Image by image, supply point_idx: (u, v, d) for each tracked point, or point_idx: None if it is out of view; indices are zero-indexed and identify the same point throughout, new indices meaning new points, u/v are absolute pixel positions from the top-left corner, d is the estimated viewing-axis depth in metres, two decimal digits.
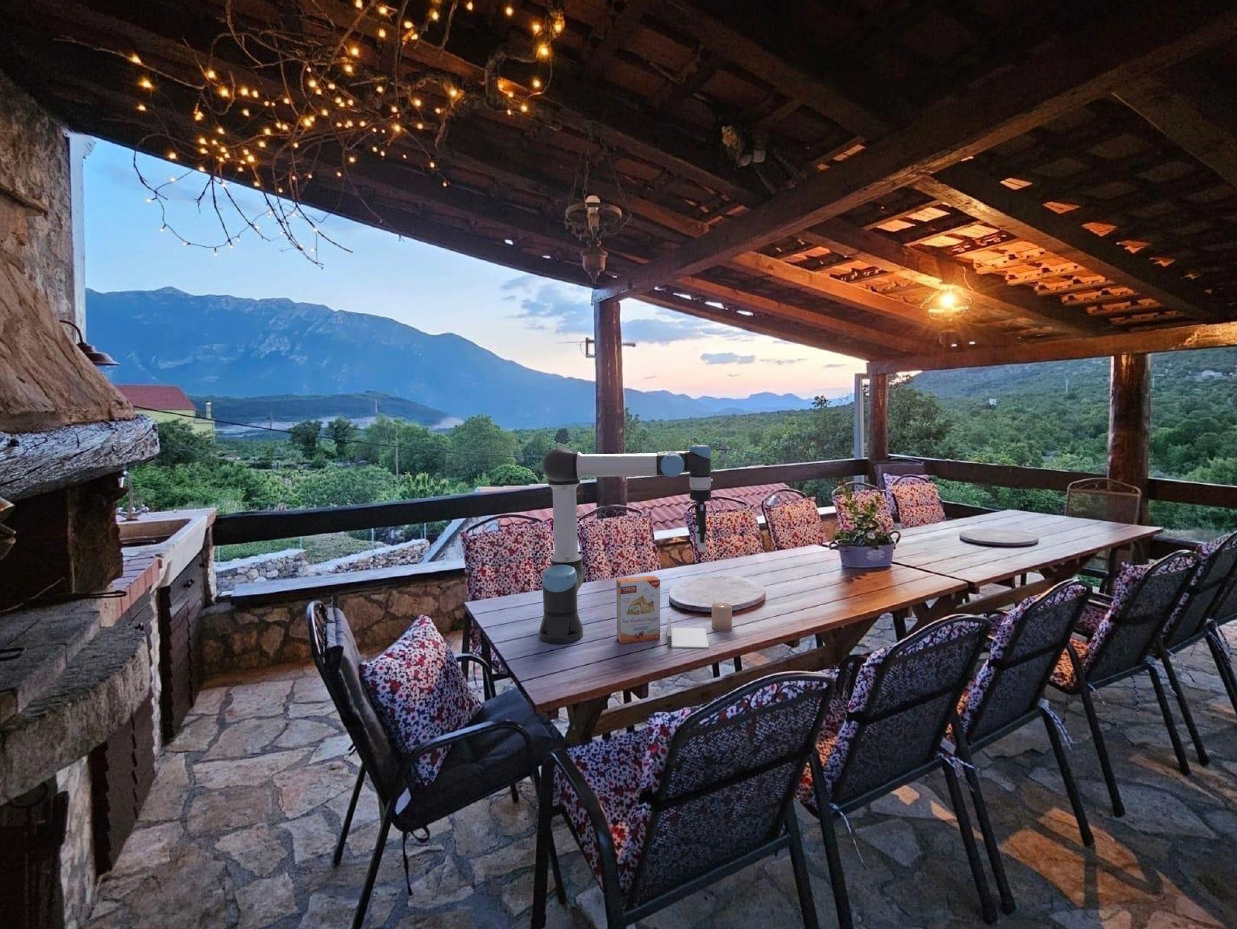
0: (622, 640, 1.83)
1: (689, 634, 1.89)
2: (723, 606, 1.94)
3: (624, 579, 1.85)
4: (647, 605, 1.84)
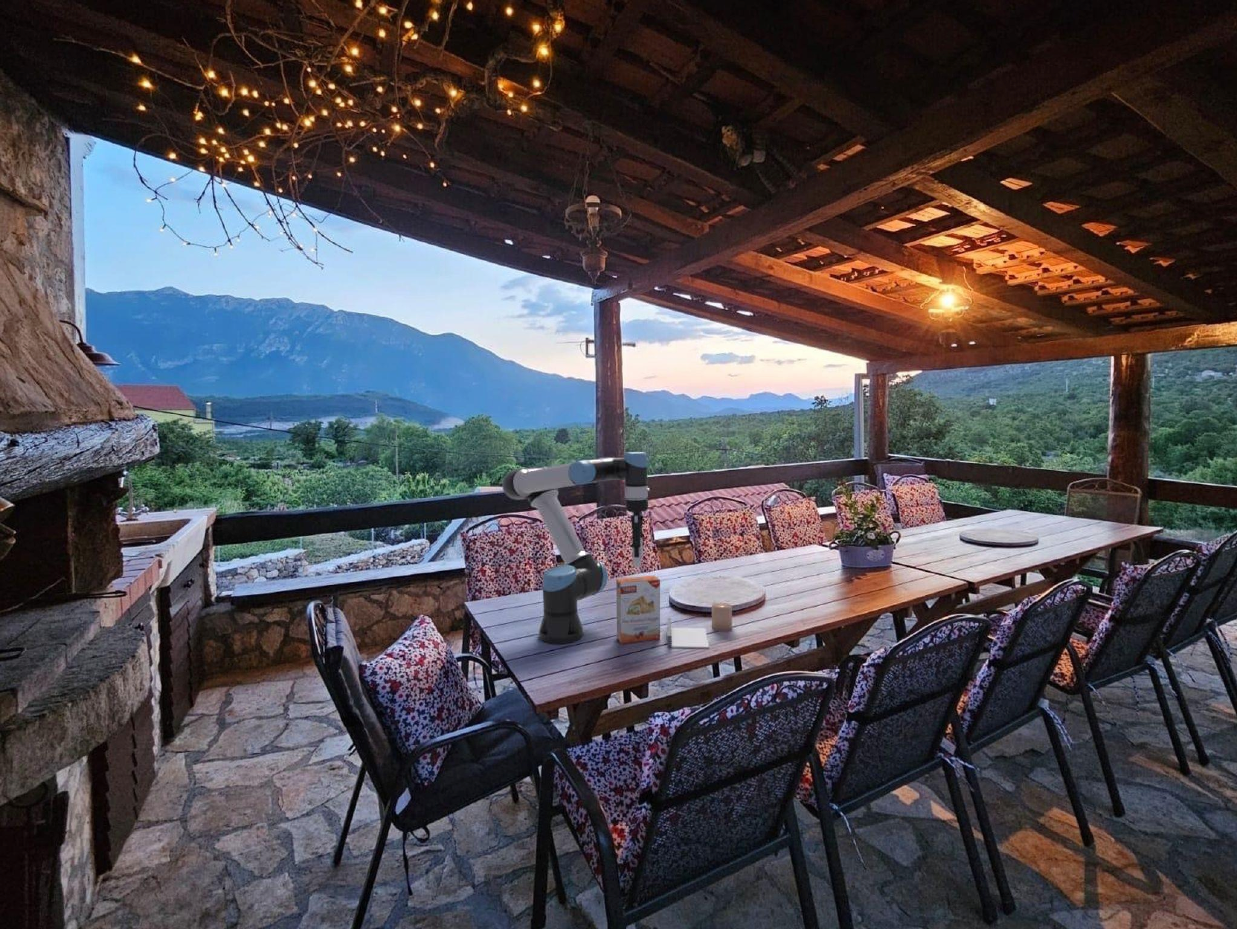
0: (622, 640, 1.83)
1: (689, 634, 1.89)
2: (723, 606, 1.94)
3: (624, 579, 1.85)
4: (647, 605, 1.84)
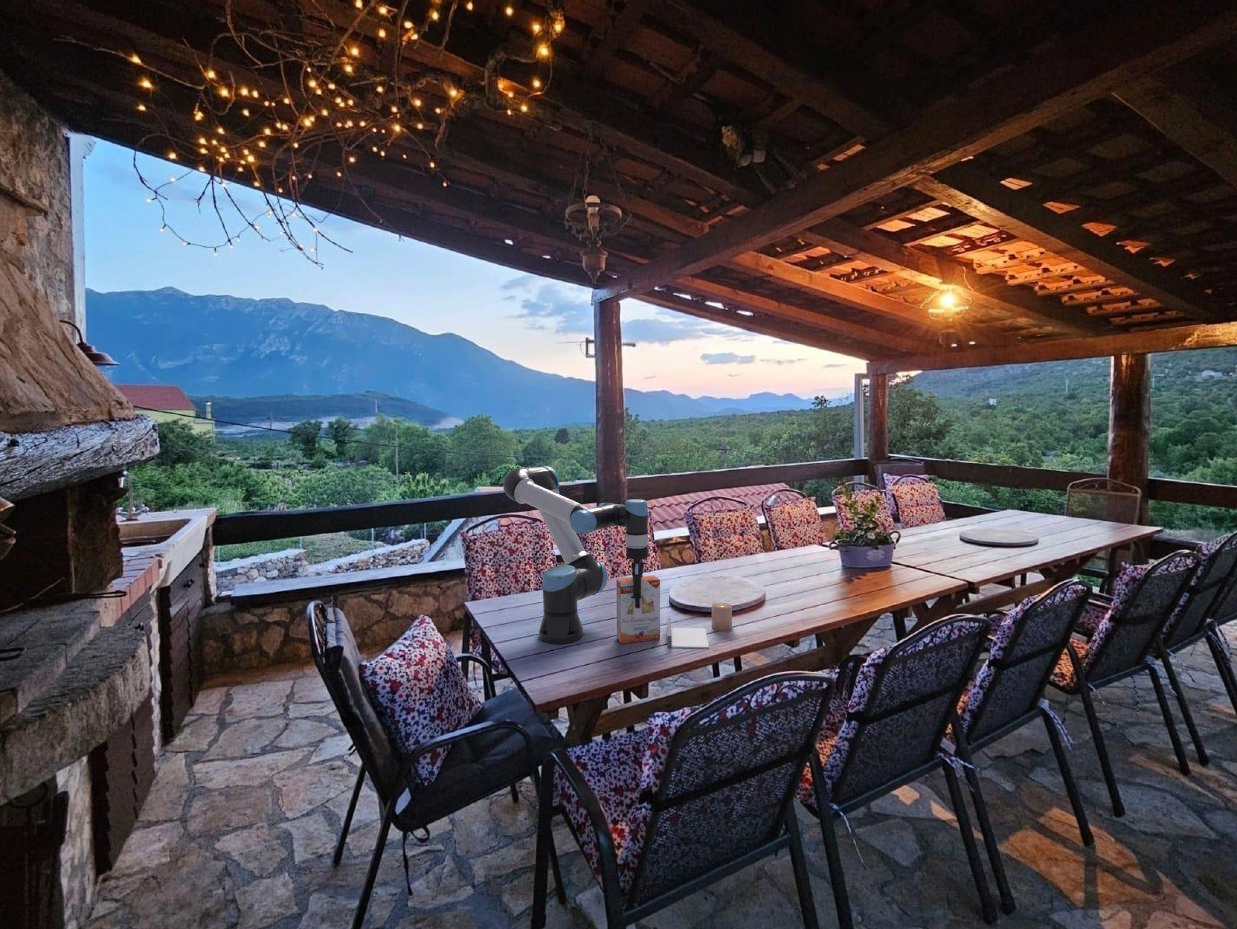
0: (622, 640, 1.83)
1: (689, 634, 1.89)
2: (723, 606, 1.94)
3: (624, 579, 1.85)
4: (647, 605, 1.84)
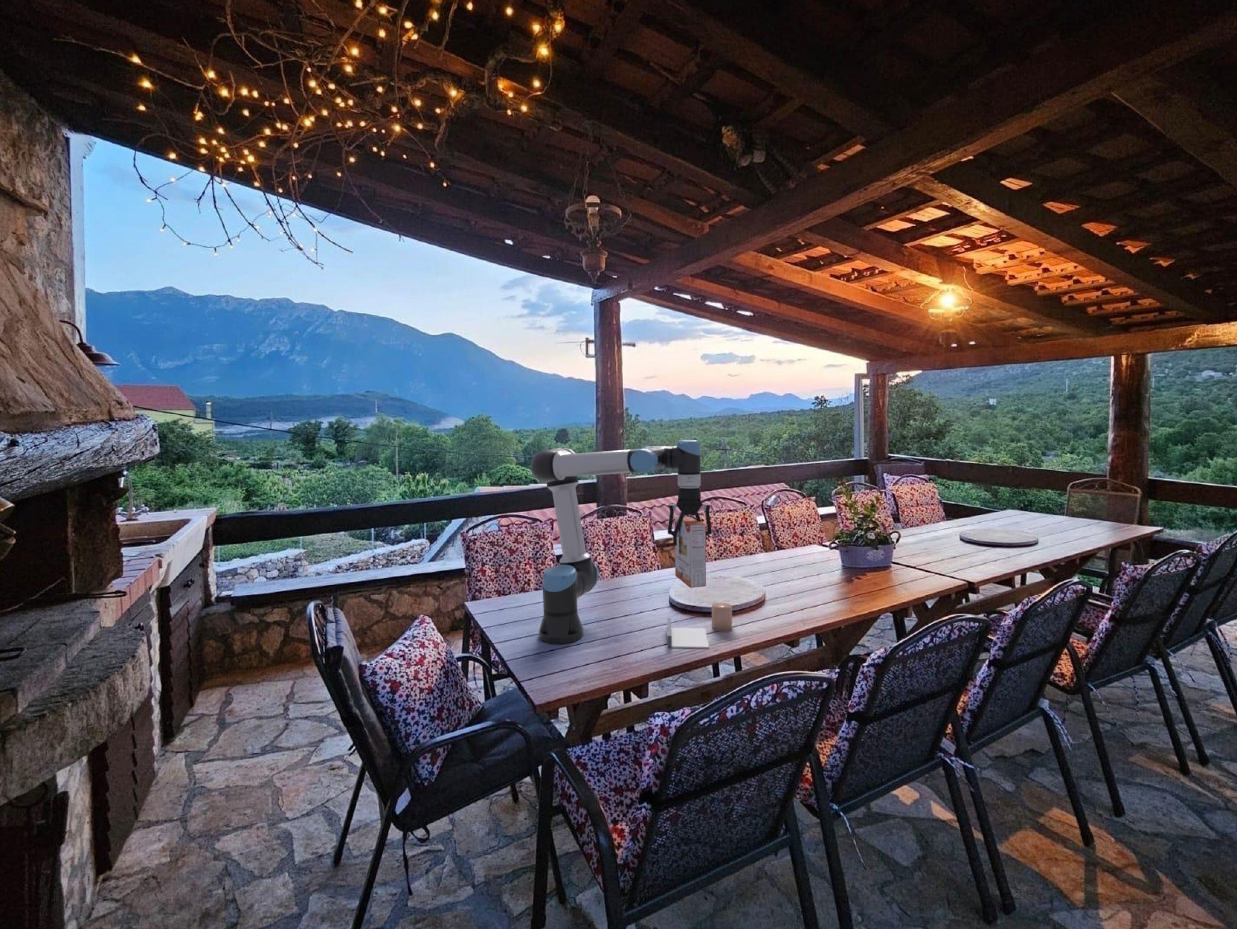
0: (675, 573, 1.90)
1: (689, 634, 1.89)
2: (723, 606, 1.94)
3: (686, 517, 1.88)
4: (683, 547, 1.81)
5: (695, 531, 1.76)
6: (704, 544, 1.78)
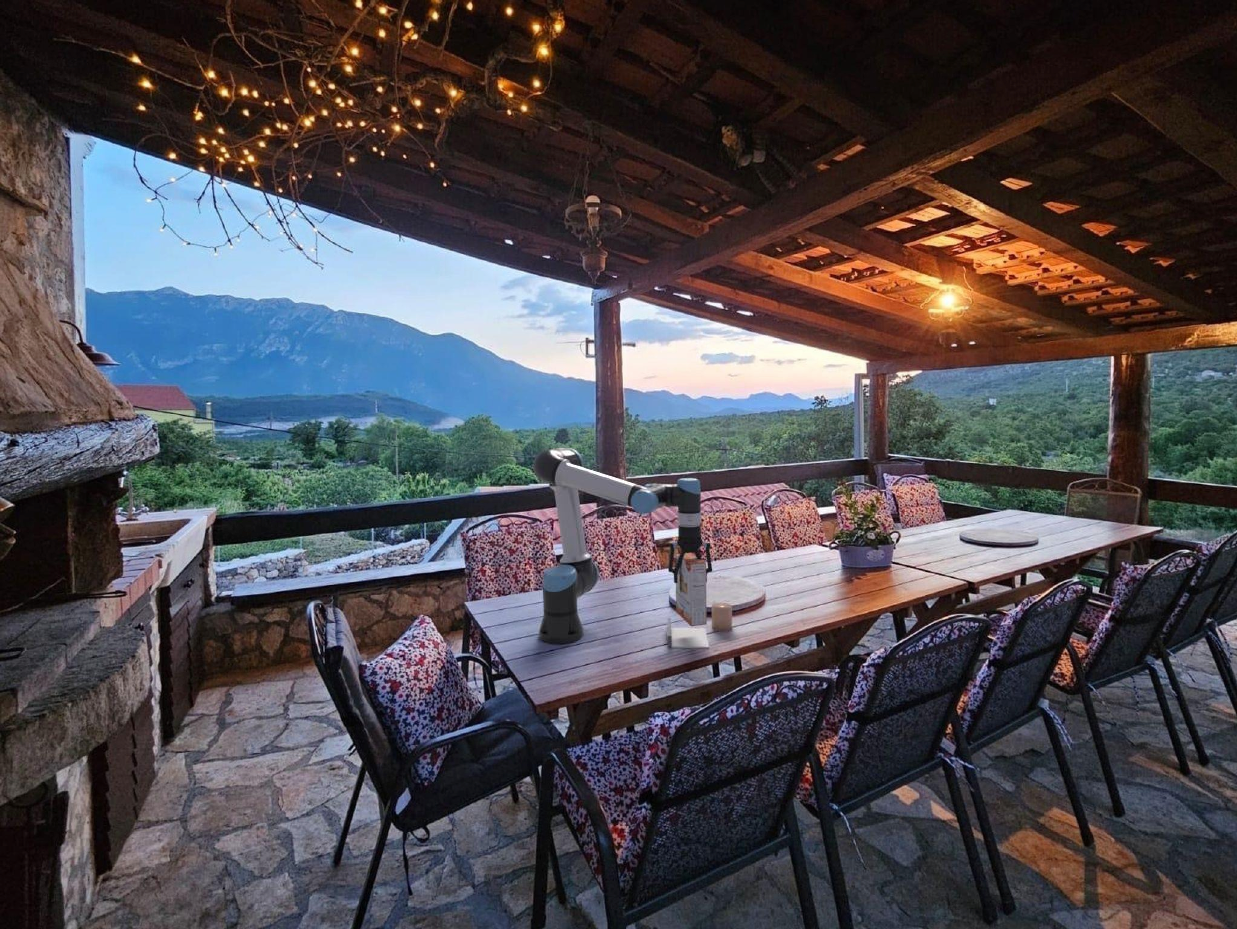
0: (676, 609, 1.91)
1: (689, 634, 1.89)
2: (723, 606, 1.94)
3: (687, 554, 1.89)
4: (684, 585, 1.82)
5: (696, 570, 1.77)
6: (705, 583, 1.79)
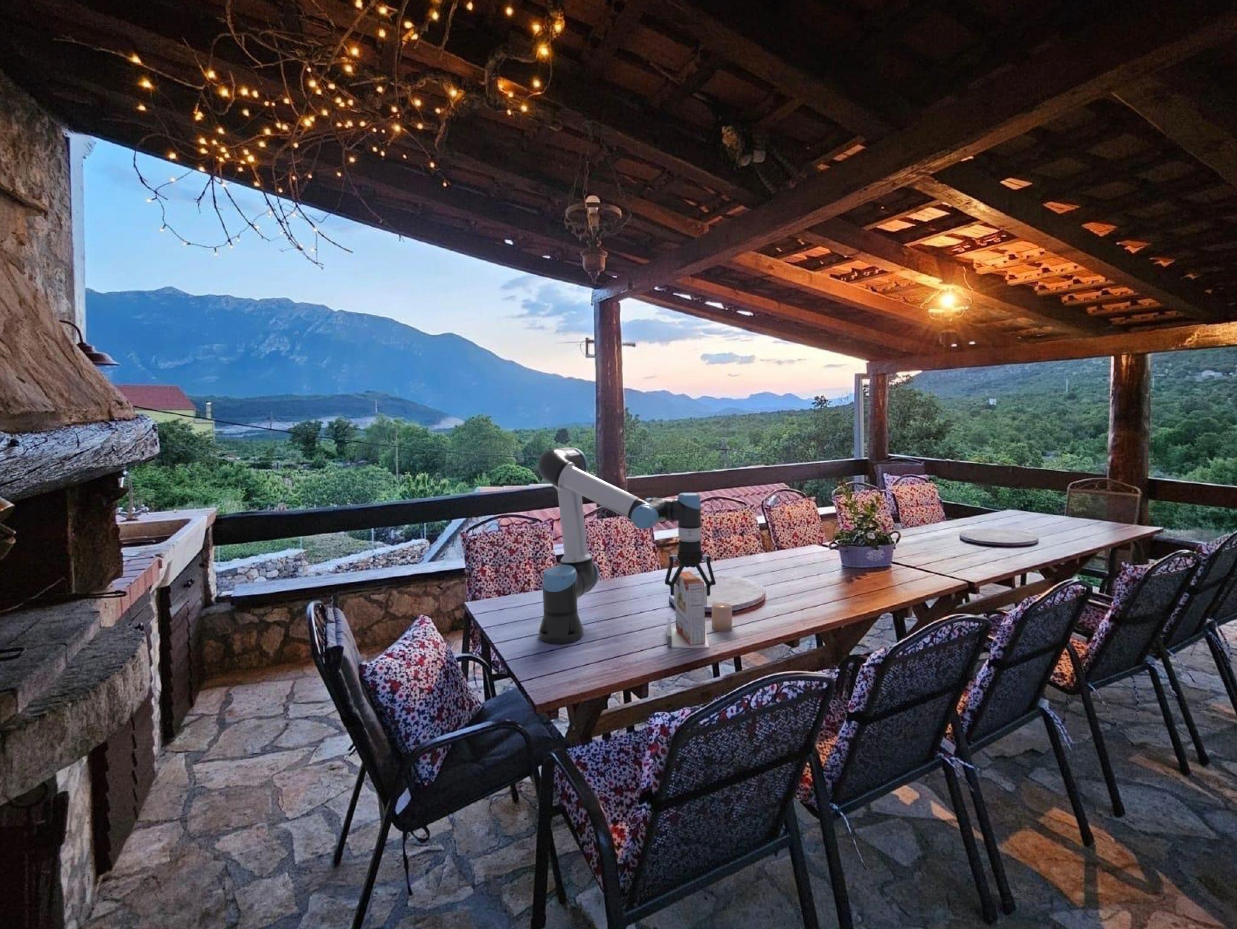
0: (676, 627, 1.92)
1: None
2: (723, 606, 1.94)
3: (686, 572, 1.89)
4: (683, 604, 1.82)
5: (694, 590, 1.78)
6: (703, 602, 1.79)
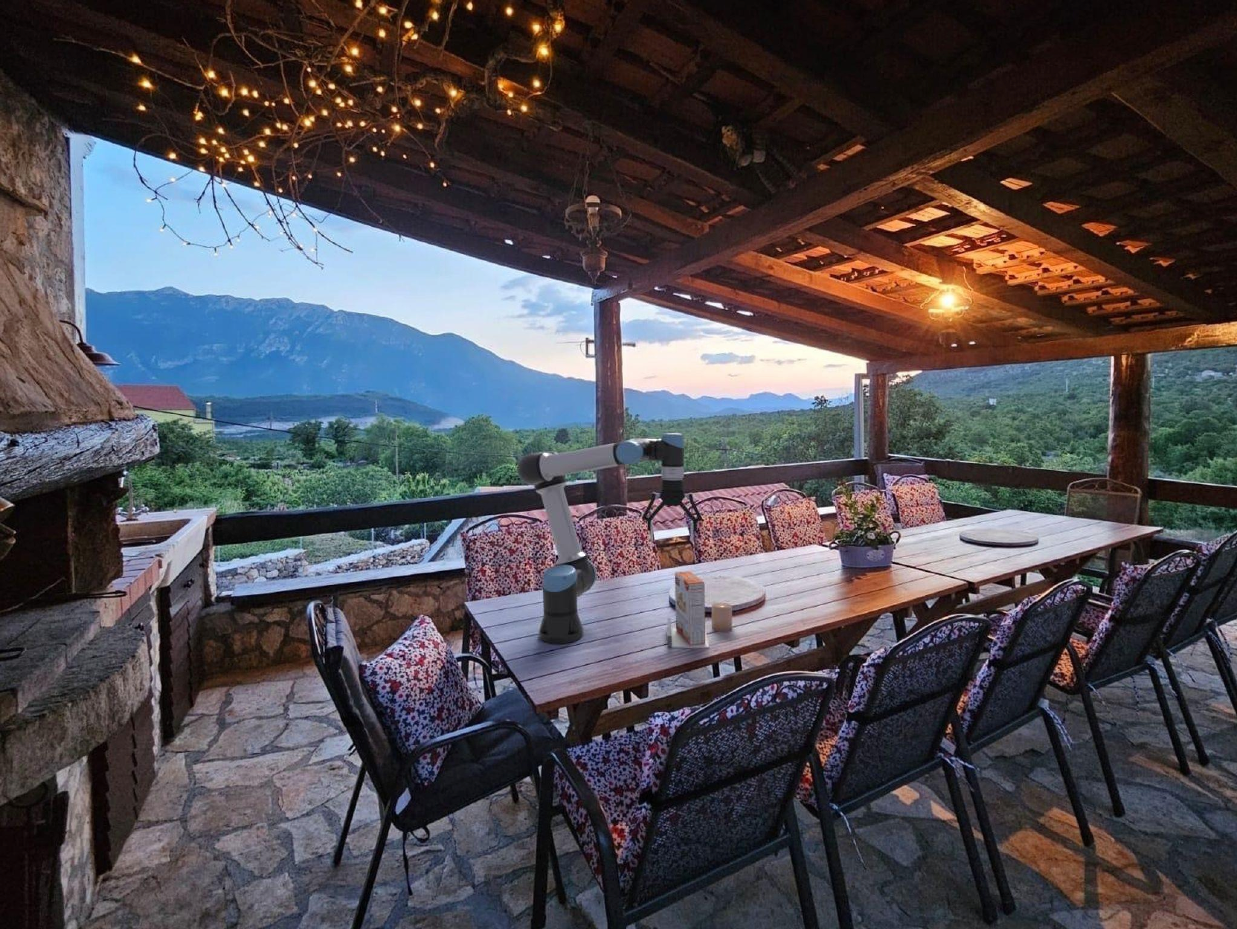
0: (676, 627, 1.92)
1: None
2: (723, 606, 1.94)
3: (686, 572, 1.89)
4: (683, 604, 1.83)
5: (694, 590, 1.78)
6: (703, 602, 1.79)
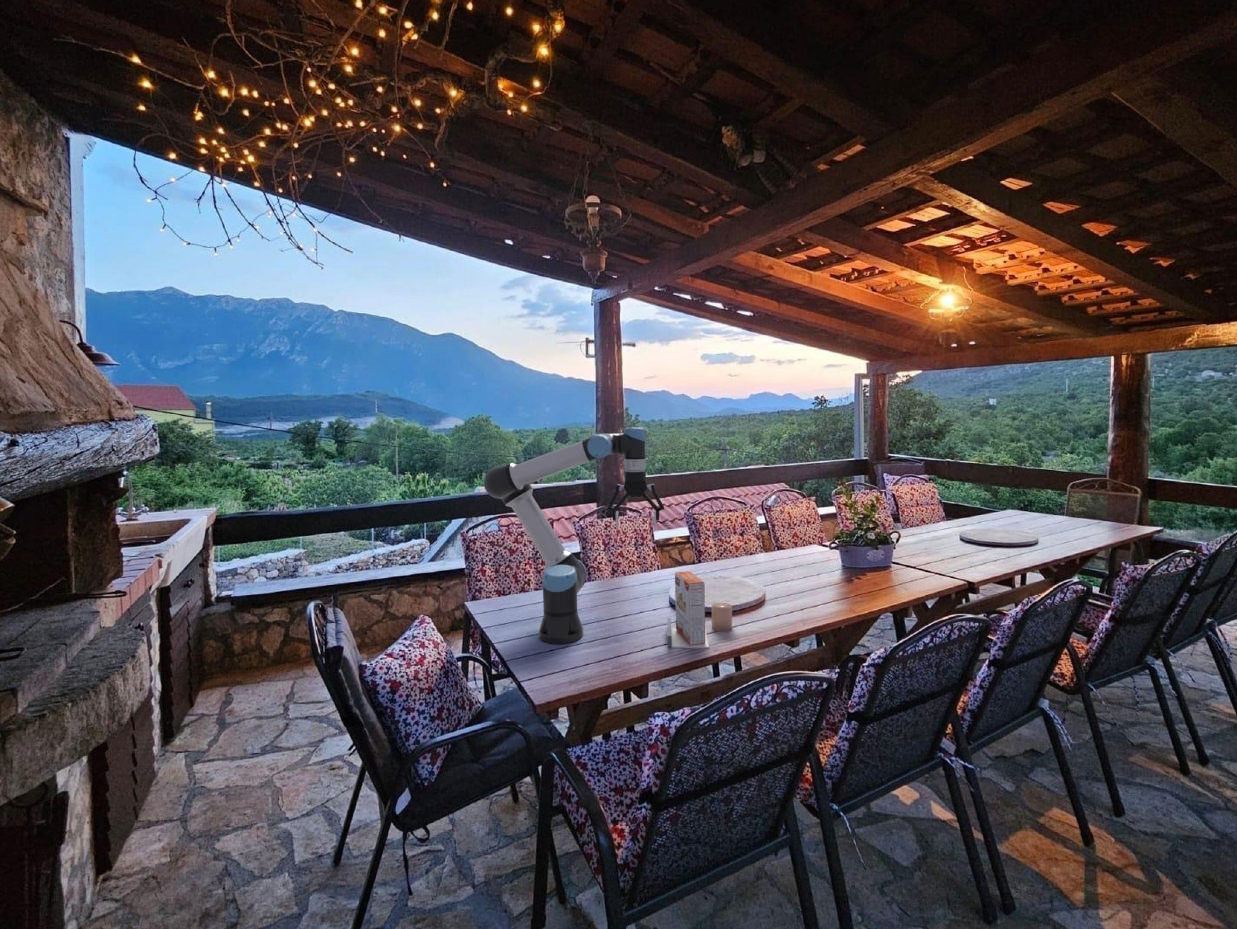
0: (676, 627, 1.92)
1: None
2: (723, 606, 1.94)
3: (686, 572, 1.89)
4: (683, 604, 1.83)
5: (694, 590, 1.78)
6: (703, 602, 1.79)
